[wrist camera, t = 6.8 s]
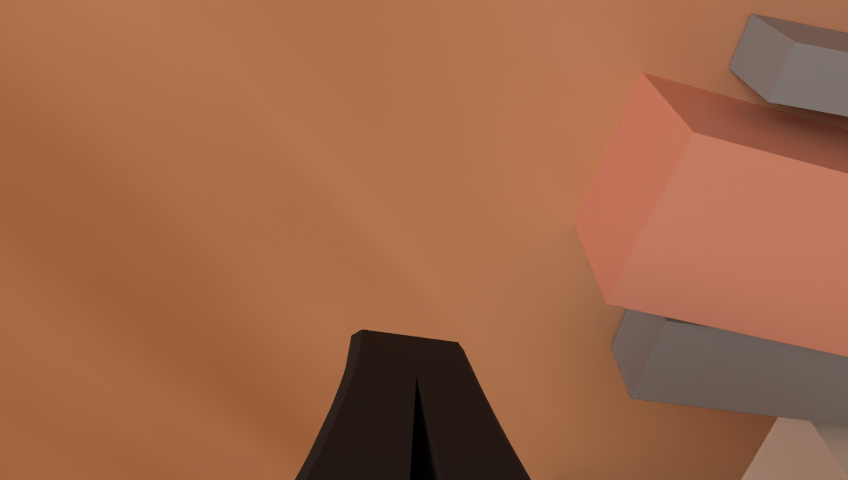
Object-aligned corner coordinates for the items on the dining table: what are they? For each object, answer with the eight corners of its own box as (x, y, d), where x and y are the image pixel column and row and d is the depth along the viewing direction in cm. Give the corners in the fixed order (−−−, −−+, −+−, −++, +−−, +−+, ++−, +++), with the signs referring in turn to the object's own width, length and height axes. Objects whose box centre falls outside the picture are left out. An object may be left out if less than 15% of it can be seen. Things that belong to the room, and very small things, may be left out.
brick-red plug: (848, 285, 20) (929, 374, 17) (572, 219, 18) (606, 304, 15) (941, 154, 18) (1052, 229, 15) (638, 69, 16) (693, 132, 13)
